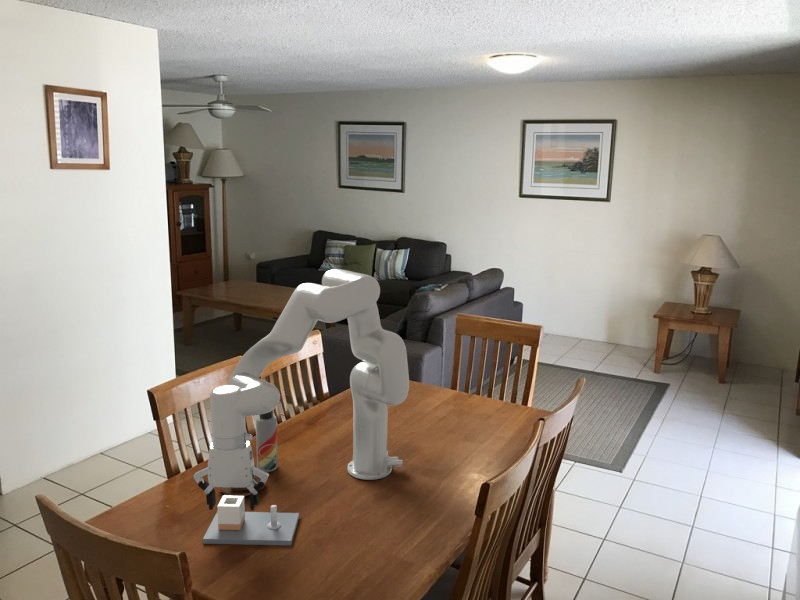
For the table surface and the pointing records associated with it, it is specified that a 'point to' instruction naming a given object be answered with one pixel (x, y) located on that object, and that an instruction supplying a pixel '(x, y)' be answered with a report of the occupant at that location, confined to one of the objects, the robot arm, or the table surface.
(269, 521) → the pin board
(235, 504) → the sleeve
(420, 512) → the table surface
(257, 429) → the lotion bottle
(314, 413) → the table surface
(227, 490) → the cup and saucer
